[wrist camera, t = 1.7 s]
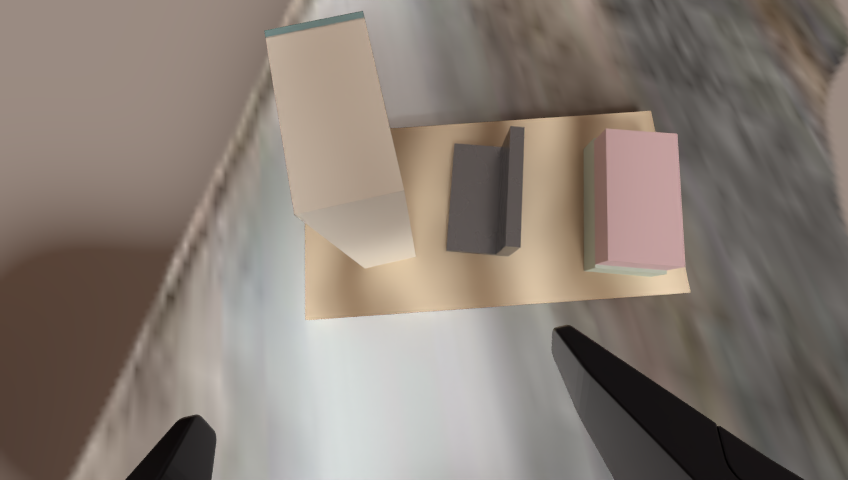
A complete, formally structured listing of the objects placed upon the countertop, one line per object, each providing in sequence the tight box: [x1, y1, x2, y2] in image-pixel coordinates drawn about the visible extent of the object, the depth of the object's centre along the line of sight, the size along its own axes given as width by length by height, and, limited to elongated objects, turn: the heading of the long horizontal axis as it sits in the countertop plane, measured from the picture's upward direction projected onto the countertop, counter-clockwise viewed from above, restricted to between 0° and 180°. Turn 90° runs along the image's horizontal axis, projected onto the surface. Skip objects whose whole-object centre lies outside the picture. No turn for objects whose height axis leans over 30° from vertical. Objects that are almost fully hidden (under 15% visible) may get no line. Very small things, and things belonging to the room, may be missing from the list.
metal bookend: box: [446, 126, 525, 257], centre depth 21 cm, size 7×4×3 cm, turn 175°
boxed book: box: [265, 11, 416, 268], centre depth 17 cm, size 6×3×12 cm, turn 13°
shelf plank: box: [305, 111, 690, 320], centre depth 23 cm, size 23×12×1 cm, turn 94°
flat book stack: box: [584, 129, 685, 277], centre depth 21 cm, size 8×4×3 cm, turn 175°
